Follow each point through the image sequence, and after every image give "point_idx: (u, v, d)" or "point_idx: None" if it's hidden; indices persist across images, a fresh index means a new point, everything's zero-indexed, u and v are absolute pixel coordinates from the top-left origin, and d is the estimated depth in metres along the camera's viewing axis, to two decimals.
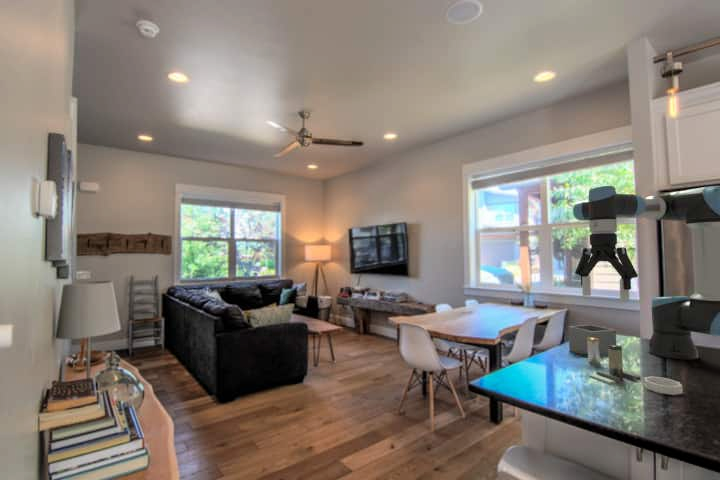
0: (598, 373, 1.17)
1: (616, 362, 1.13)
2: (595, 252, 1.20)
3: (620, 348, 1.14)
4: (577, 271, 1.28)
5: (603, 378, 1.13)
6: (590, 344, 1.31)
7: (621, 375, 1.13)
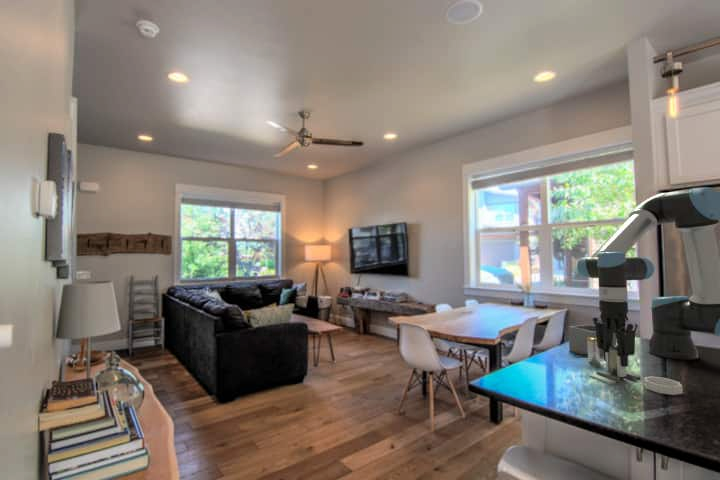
0: (598, 373, 1.17)
1: None
2: (605, 319, 1.16)
3: None
4: (599, 344, 1.19)
5: (603, 378, 1.13)
6: (590, 344, 1.31)
7: None
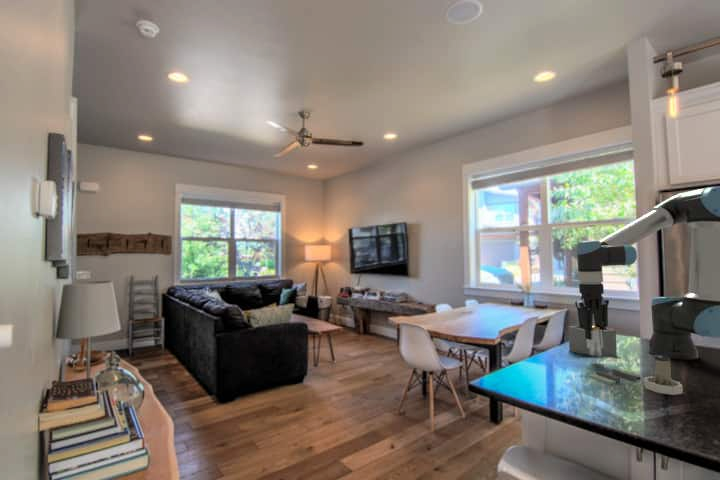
0: (598, 373, 1.17)
1: (667, 375, 1.04)
2: None
3: (669, 359, 1.05)
4: None
5: (603, 378, 1.13)
6: None
7: None
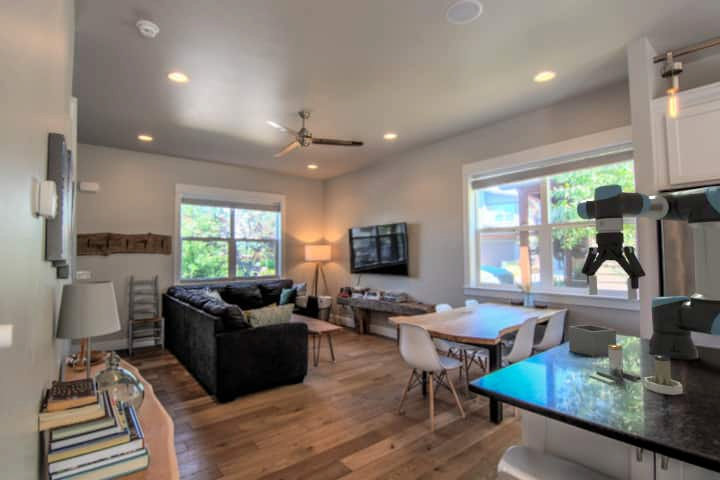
0: (598, 373, 1.17)
1: (666, 375, 1.04)
2: (602, 251, 1.19)
3: (669, 359, 1.05)
4: (583, 270, 1.27)
5: (603, 378, 1.13)
6: (621, 353, 1.14)
7: None
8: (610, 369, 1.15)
